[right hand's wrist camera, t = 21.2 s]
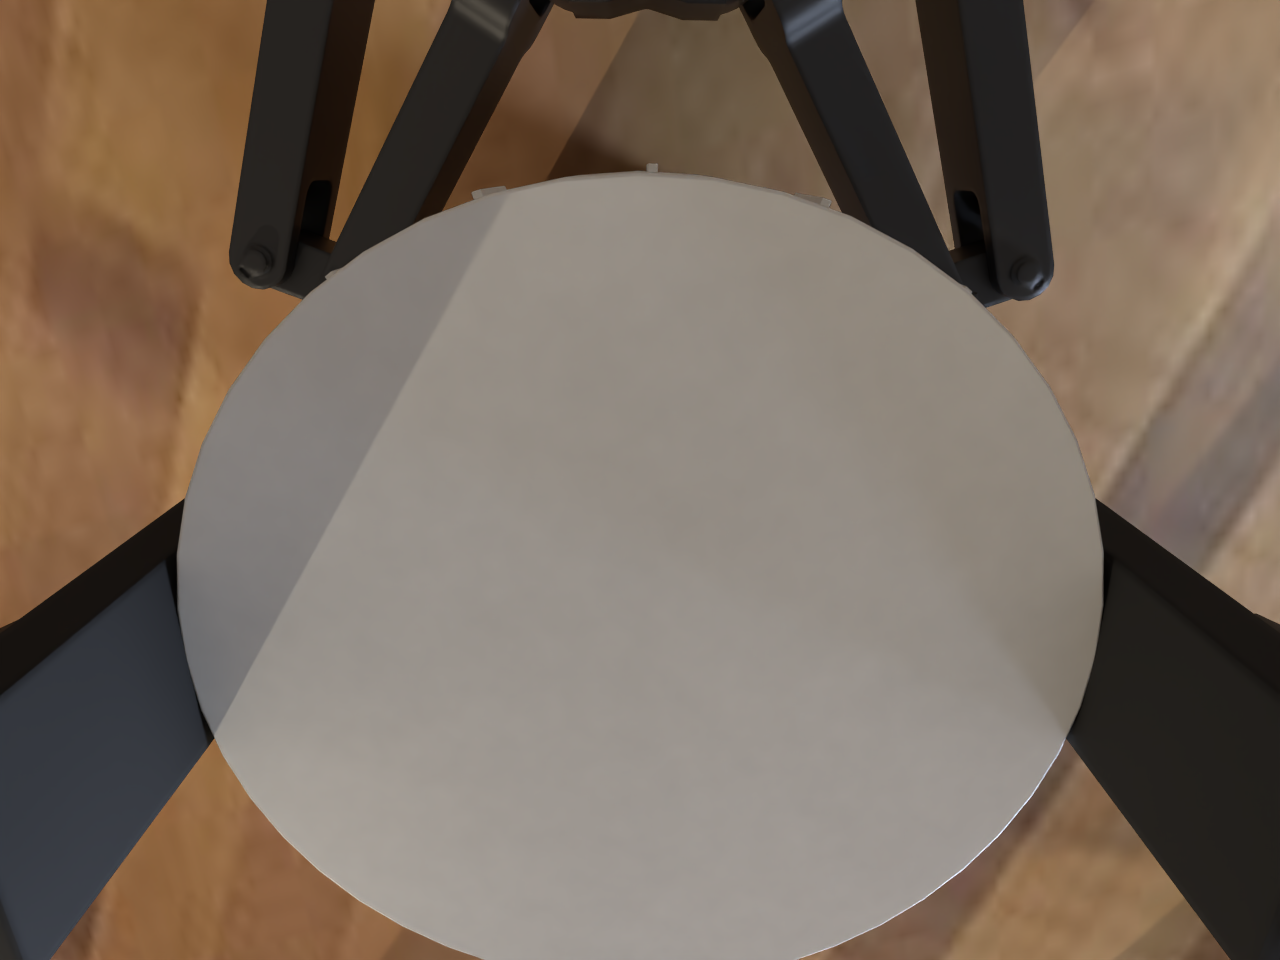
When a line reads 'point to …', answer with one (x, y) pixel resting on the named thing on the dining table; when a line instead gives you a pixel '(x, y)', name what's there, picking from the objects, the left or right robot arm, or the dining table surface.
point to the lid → (640, 574)
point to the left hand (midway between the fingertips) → (638, 567)
